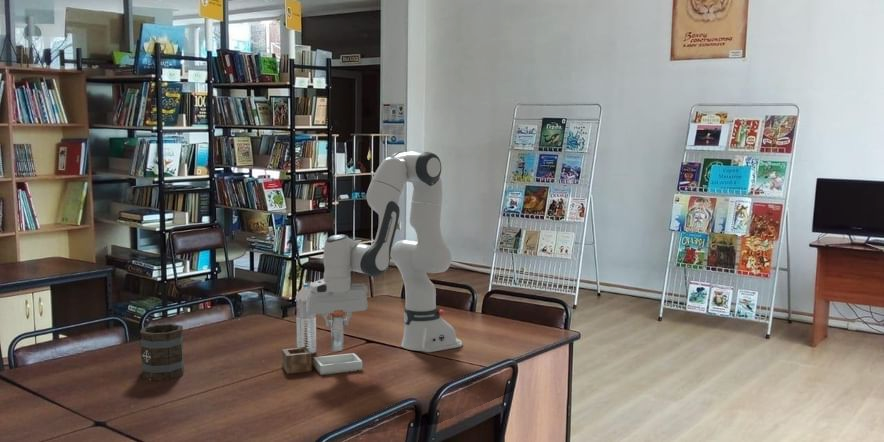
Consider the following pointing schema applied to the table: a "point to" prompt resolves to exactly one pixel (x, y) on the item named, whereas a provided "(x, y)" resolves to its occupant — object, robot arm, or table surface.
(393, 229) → the robot arm
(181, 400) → the table surface
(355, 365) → the tray
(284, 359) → the block
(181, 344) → the mug
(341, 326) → the pin
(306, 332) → the water bottle
